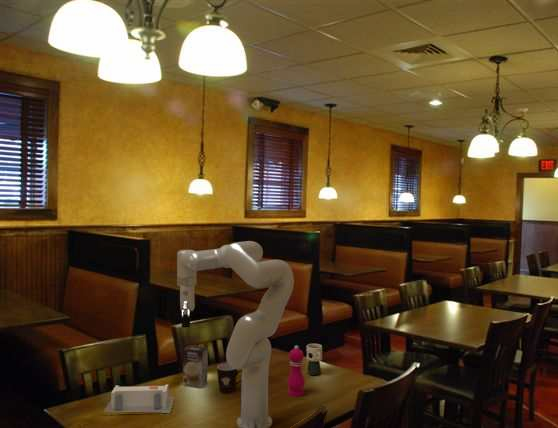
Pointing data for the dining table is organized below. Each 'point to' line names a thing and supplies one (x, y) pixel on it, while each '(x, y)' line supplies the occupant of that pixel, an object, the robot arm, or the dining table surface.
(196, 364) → the coffee box
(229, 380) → the coffee mug
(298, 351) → the pepper mill
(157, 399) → the slot rack
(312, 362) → the character mug
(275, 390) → the dining table surface
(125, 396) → the strip bar
